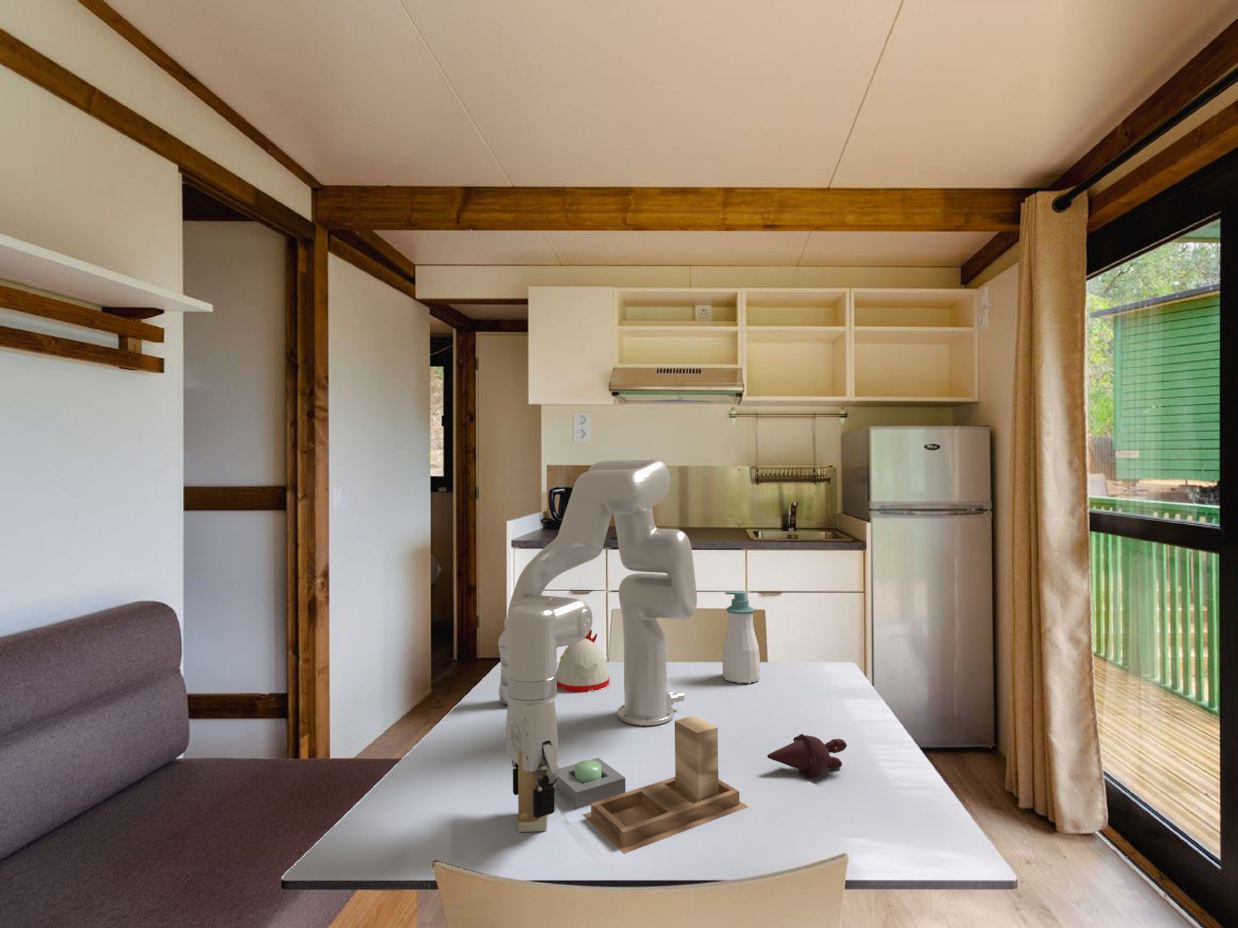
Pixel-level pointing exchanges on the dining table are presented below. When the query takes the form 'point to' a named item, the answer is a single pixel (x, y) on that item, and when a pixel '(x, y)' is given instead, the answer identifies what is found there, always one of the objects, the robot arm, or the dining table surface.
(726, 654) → the soap bottle
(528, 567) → the robot arm
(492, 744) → the dining table surface
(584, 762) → the button
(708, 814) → the open wooden box
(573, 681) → the cream and red dome
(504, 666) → the plastic bottle
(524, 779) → the skincare box
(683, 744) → the block
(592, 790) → the grey square holder
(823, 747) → the icecream
